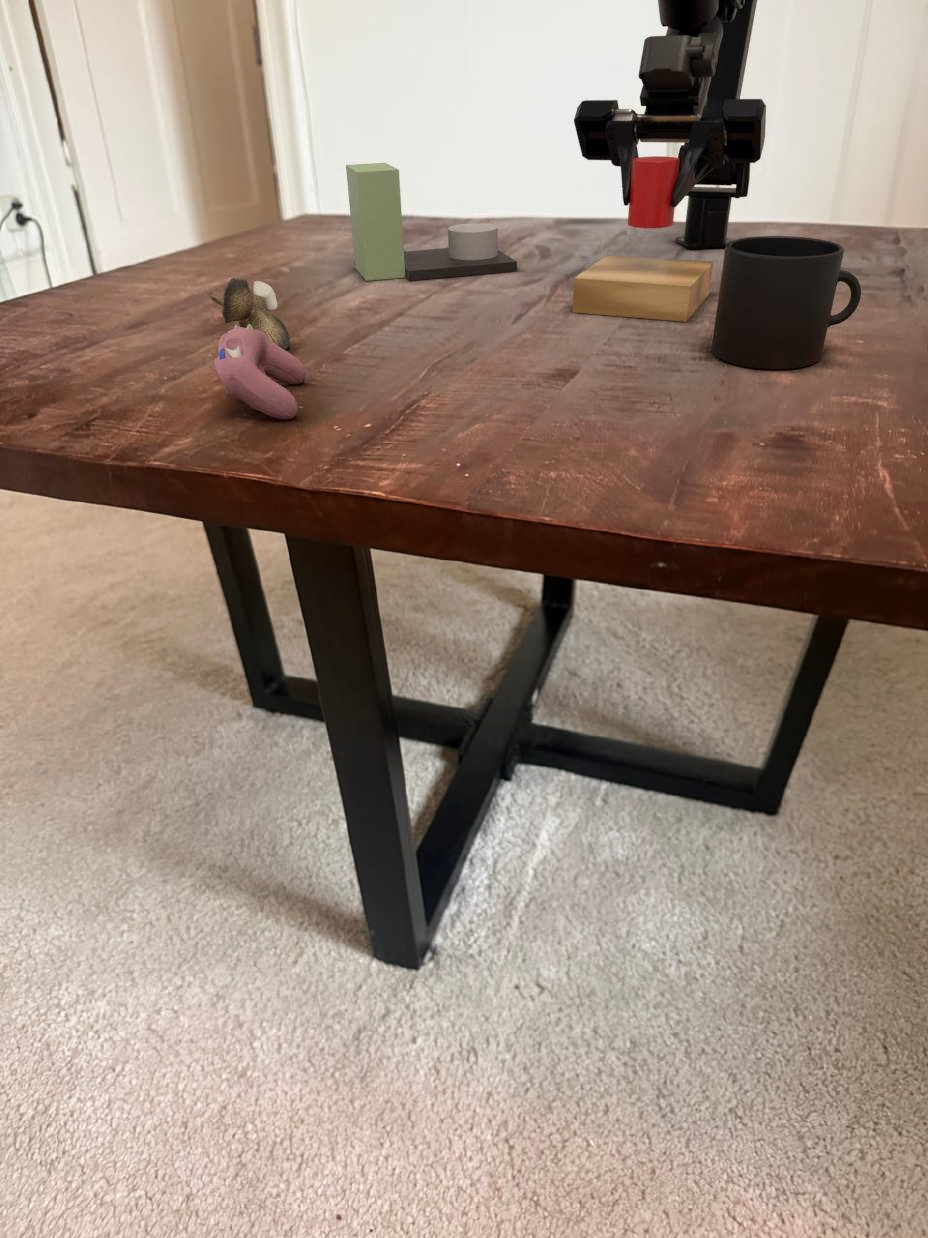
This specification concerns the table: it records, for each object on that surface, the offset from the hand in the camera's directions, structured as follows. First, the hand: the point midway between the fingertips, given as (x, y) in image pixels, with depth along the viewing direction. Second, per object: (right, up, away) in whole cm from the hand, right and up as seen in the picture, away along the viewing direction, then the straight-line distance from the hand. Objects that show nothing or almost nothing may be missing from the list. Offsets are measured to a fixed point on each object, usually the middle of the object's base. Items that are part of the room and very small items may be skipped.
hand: (648, 203), depth 85 cm
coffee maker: (-23, +4, +24) cm, 33 cm away
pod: (+1, -1, +2) cm, 3 cm away
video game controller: (-35, -24, -16) cm, 45 cm away
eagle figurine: (-39, -15, -2) cm, 42 cm away
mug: (+10, -18, -9) cm, 23 cm away
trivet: (+1, -8, +7) cm, 10 cm away
